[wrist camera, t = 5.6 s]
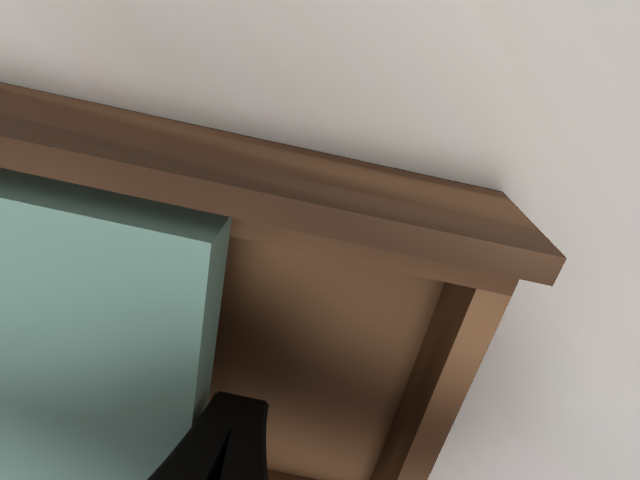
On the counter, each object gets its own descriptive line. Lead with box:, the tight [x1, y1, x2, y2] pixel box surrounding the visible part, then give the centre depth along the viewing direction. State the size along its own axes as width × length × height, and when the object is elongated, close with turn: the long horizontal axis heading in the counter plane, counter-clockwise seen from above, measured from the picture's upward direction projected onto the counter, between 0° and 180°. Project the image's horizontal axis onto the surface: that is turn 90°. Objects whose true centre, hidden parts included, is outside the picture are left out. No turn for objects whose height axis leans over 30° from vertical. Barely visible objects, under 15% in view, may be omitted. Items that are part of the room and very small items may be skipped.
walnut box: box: [0, 83, 567, 480], centre depth 12 cm, size 13×14×4 cm
